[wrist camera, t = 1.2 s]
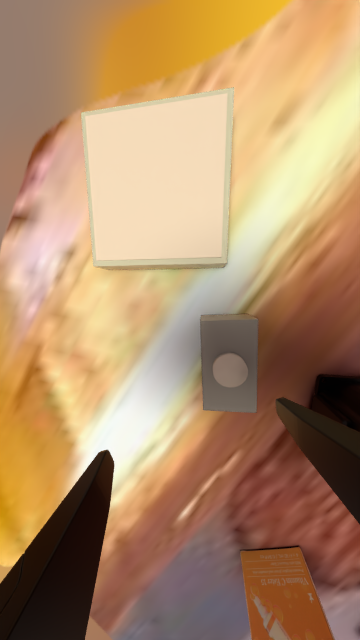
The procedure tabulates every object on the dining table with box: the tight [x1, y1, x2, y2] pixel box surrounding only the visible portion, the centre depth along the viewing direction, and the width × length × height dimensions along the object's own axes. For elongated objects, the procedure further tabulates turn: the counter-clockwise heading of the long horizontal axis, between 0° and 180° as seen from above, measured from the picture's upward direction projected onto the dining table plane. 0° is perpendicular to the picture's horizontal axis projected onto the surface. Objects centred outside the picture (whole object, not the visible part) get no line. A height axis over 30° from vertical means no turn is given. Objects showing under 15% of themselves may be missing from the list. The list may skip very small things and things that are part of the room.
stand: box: [81, 87, 234, 270], centre depth 16 cm, size 13×13×3 cm
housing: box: [200, 314, 258, 413], centre depth 17 cm, size 5×9×5 cm, turn 3°
